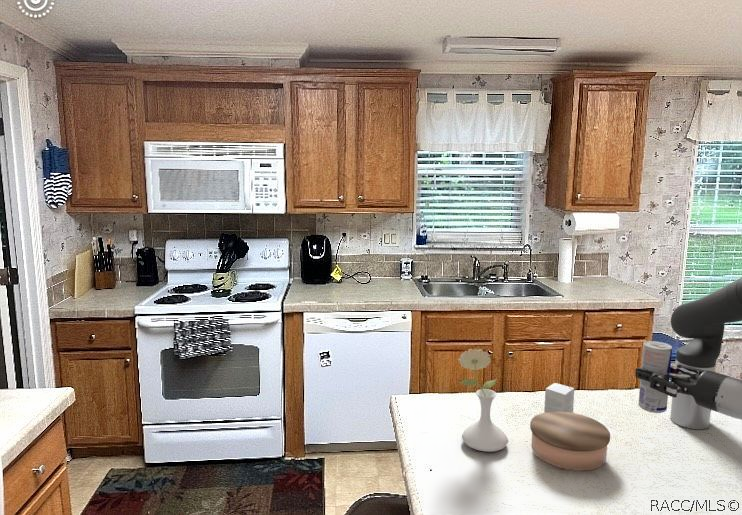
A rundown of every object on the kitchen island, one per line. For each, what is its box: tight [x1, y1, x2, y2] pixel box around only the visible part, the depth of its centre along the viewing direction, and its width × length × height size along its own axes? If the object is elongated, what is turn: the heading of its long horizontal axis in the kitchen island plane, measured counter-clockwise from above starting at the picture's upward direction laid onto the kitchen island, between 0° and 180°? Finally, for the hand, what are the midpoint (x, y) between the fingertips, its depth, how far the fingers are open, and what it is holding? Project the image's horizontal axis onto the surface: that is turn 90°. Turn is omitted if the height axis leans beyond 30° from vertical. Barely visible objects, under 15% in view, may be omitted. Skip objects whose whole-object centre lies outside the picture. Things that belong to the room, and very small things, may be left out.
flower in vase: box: [457, 348, 509, 453], centre depth 133 cm, size 13×11×25 cm
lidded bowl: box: [529, 411, 611, 471], centre depth 128 cm, size 18×18×7 cm
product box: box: [543, 382, 575, 413], centre depth 151 cm, size 6×6×7 cm
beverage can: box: [638, 340, 673, 414], centre depth 117 cm, size 6×6×15 cm
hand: (644, 369), depth 119 cm, fingers closed on beverage can, 5 cm apart
